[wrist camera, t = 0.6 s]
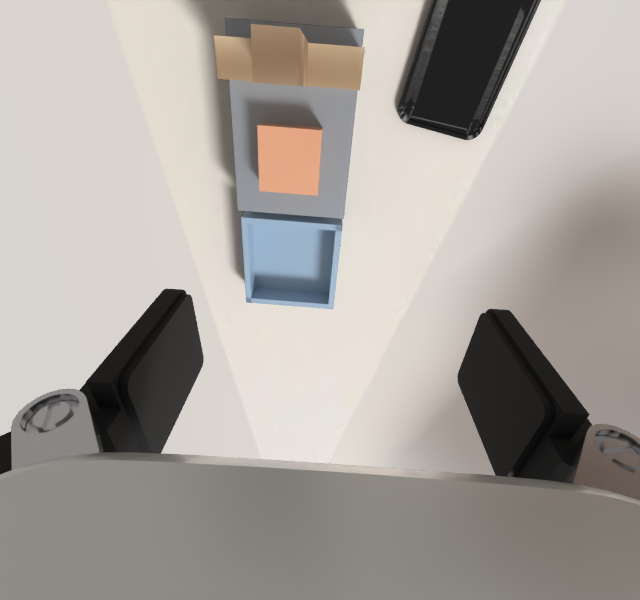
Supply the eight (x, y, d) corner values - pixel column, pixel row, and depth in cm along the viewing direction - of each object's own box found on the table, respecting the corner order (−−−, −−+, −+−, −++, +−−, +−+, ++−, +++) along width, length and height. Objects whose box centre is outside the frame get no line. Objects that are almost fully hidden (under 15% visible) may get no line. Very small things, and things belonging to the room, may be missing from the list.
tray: (247, 208, 35) (241, 217, 33) (341, 215, 35) (342, 225, 33) (251, 288, 41) (246, 302, 38) (333, 295, 41) (333, 309, 38)
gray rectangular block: (238, 26, 27) (224, 17, 24) (360, 36, 27) (364, 29, 24) (247, 198, 35) (237, 210, 31) (342, 206, 35) (343, 218, 31)
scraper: (226, 39, 24) (176, 17, 17) (361, 50, 24) (373, 33, 17) (229, 80, 26) (184, 77, 18) (357, 90, 26) (366, 91, 18)
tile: (262, 122, 27) (257, 125, 26) (322, 127, 27) (321, 130, 26) (263, 185, 30) (259, 191, 28) (318, 189, 30) (317, 195, 28)
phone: (395, 120, 30) (476, -133, 22) (393, 119, 31) (470, -124, 23) (477, 143, 30) (585, -94, 22) (473, 141, 31) (575, -87, 23)
